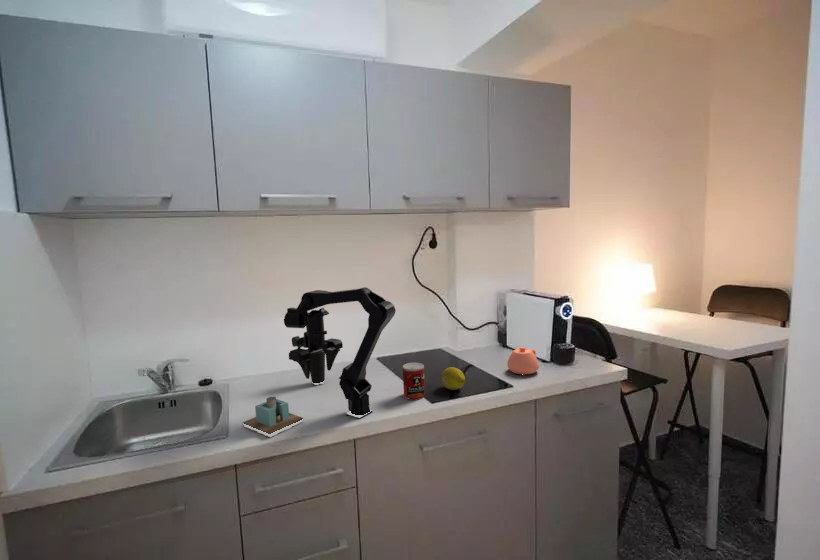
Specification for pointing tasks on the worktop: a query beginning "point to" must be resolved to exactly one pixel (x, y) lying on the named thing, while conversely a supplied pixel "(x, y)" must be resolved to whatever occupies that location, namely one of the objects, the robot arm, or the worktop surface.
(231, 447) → the worktop surface
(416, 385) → the canned food
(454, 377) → the lemon
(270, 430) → the board
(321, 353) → the drinking cup
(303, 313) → the robot arm
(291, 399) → the worktop surface
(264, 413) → the collar
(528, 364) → the orange teapot
